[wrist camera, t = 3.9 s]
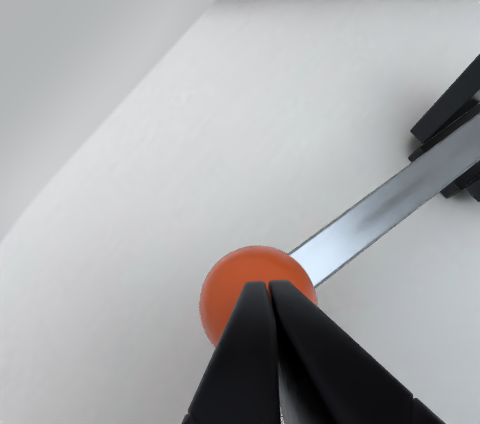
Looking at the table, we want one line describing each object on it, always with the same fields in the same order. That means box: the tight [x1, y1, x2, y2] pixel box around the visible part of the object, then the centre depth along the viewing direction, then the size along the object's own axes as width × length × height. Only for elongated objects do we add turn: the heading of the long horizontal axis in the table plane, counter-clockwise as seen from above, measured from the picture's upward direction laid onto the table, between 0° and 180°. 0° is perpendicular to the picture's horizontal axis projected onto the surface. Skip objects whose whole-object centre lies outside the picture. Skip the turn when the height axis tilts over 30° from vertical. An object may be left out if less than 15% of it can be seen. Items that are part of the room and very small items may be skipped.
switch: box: [199, 113, 480, 348], centre depth 11 cm, size 18×3×3 cm, turn 126°
